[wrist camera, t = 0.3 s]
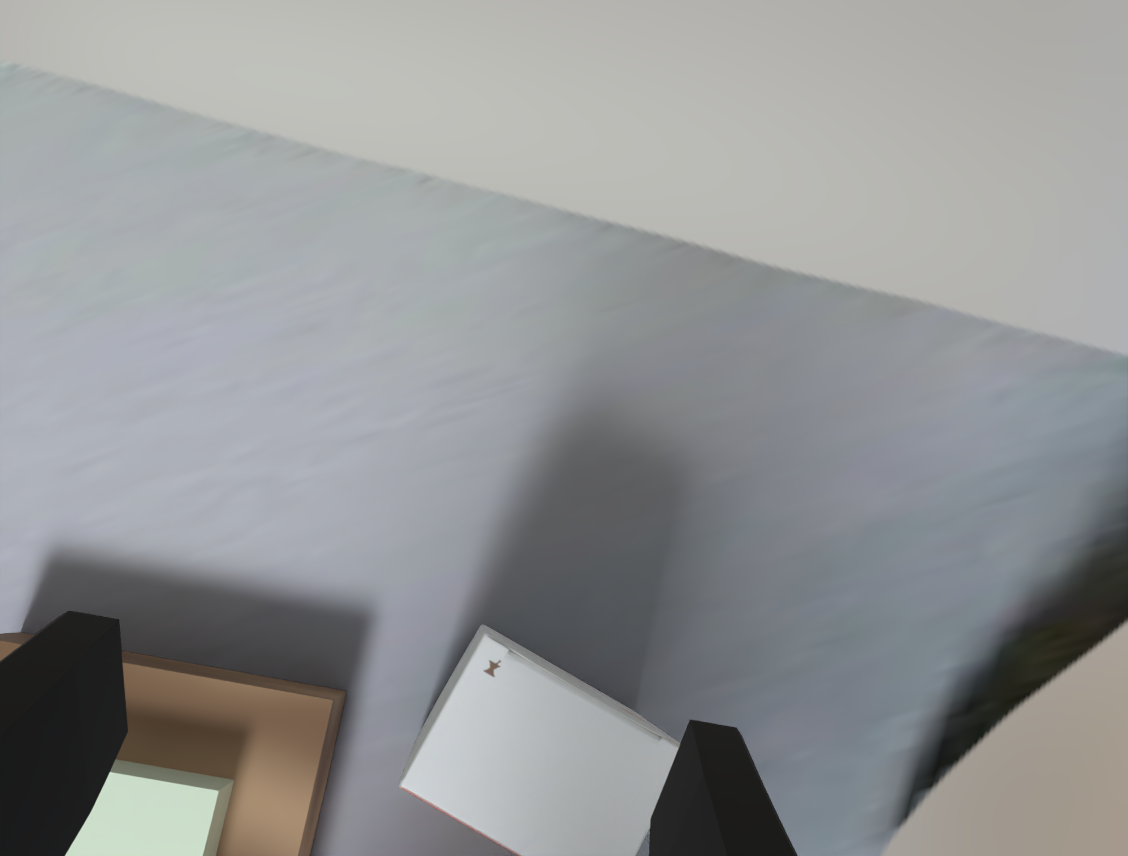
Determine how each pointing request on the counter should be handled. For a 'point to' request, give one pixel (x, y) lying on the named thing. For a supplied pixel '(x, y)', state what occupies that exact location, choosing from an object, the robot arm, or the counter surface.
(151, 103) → the counter surface
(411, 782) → the small box
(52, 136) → the counter surface
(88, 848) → the sage green block
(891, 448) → the counter surface
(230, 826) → the brown flat block
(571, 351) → the counter surface
